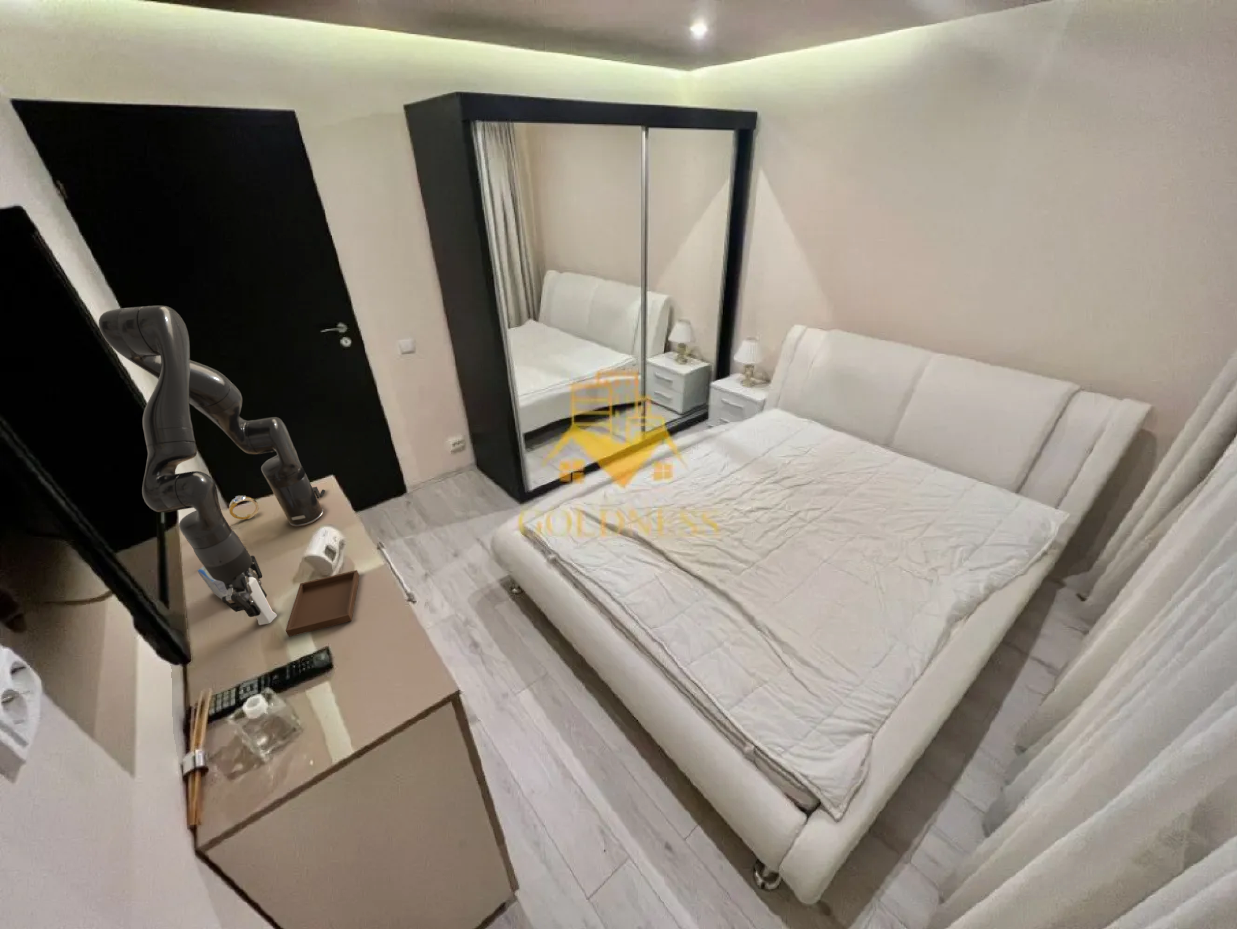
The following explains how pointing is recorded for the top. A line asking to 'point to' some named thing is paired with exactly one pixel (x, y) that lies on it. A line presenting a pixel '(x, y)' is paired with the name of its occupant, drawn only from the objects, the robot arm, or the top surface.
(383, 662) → the top surface
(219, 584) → the medicine box
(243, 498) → the ring
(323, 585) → the tray
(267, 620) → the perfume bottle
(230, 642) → the top surface
